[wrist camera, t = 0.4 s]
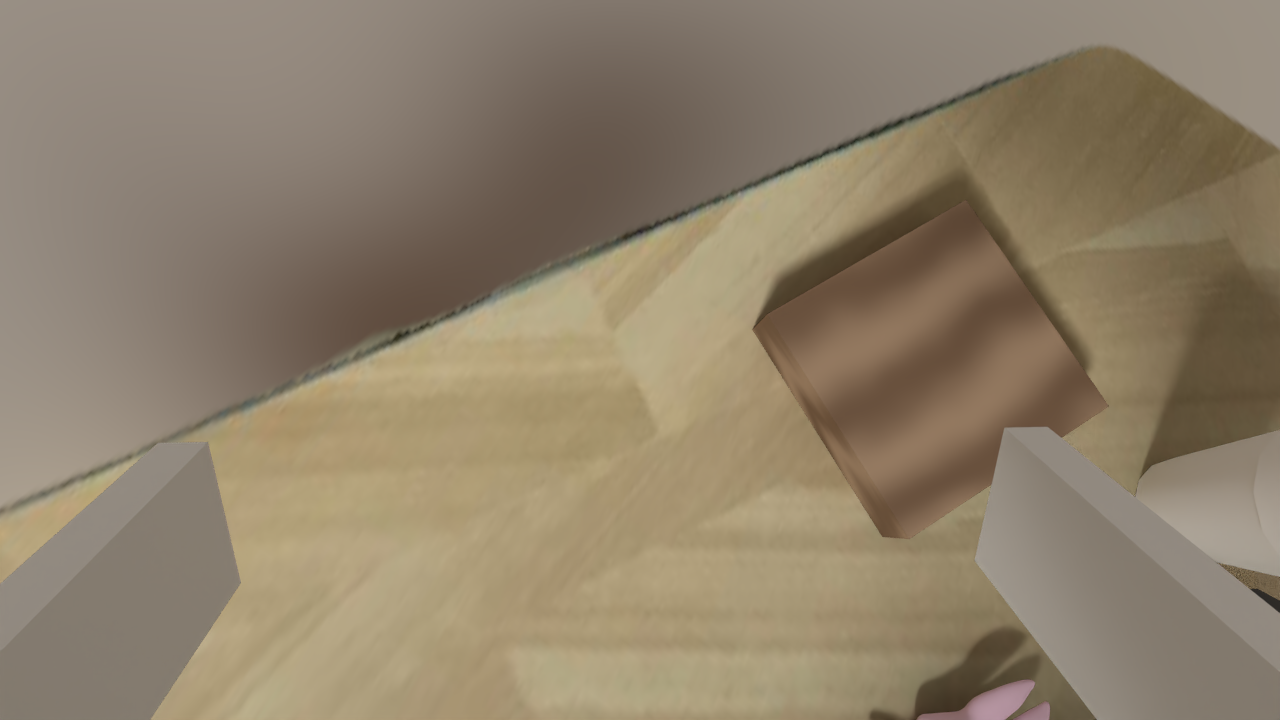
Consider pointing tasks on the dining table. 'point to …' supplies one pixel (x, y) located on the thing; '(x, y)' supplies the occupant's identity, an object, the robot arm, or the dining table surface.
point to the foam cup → (1223, 500)
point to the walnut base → (925, 369)
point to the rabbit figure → (997, 705)
